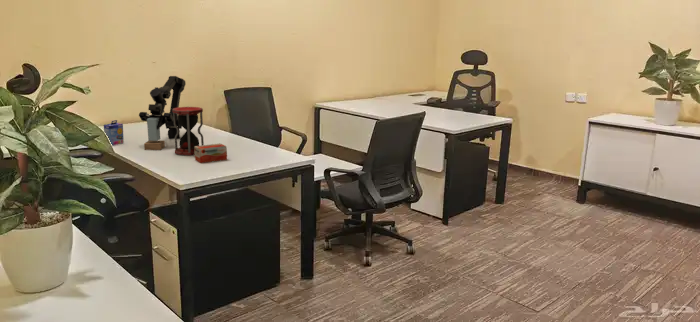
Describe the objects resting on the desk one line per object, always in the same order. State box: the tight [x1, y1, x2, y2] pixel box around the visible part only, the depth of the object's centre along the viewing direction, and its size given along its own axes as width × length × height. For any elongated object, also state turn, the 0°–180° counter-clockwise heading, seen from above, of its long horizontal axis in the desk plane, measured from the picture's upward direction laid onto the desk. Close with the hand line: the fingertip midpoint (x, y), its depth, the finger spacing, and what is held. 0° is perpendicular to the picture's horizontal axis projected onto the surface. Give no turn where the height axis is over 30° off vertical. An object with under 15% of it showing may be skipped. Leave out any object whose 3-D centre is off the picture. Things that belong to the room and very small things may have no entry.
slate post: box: [146, 118, 161, 141], centre depth 315 cm, size 5×5×12 cm
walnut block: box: [143, 140, 166, 151], centre depth 318 cm, size 9×9×4 cm
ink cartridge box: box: [103, 119, 125, 146], centre depth 324 cm, size 10×6×14 cm, turn 152°
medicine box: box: [194, 143, 228, 164], centre depth 293 cm, size 15×8×8 cm, turn 127°
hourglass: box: [172, 106, 205, 157], centre depth 307 cm, size 16×16×25 cm
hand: (152, 129), depth 314 cm, fingers closed on slate post, 5 cm apart
